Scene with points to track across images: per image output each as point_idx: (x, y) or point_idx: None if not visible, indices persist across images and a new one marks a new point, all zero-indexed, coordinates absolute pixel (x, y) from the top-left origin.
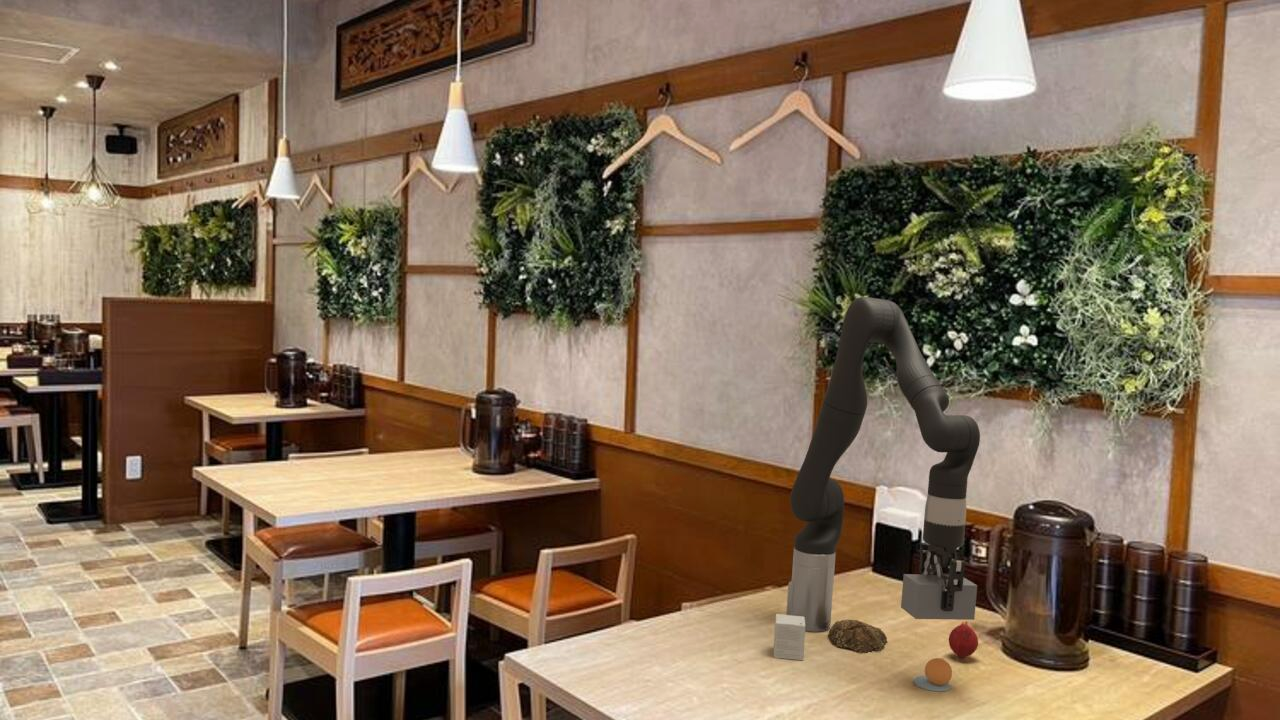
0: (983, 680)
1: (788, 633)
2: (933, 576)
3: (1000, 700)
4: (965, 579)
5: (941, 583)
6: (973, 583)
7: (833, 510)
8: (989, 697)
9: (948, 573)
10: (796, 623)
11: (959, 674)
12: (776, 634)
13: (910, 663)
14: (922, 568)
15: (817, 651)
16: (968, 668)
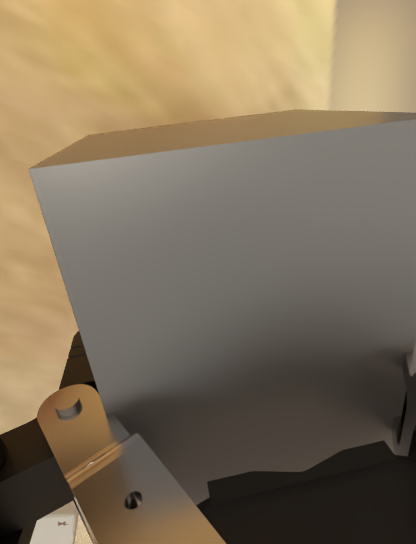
0: (122, 6)
1: (77, 516)
2: (173, 451)
3: (275, 26)
4: (225, 171)
5: (394, 437)
6: (378, 128)
7: None
8: (255, 55)
9: (384, 447)
10: (63, 530)
11: (84, 79)
12: (76, 528)
13: (28, 213)
14: (29, 541)
15: (15, 413)
16: (13, 14)
